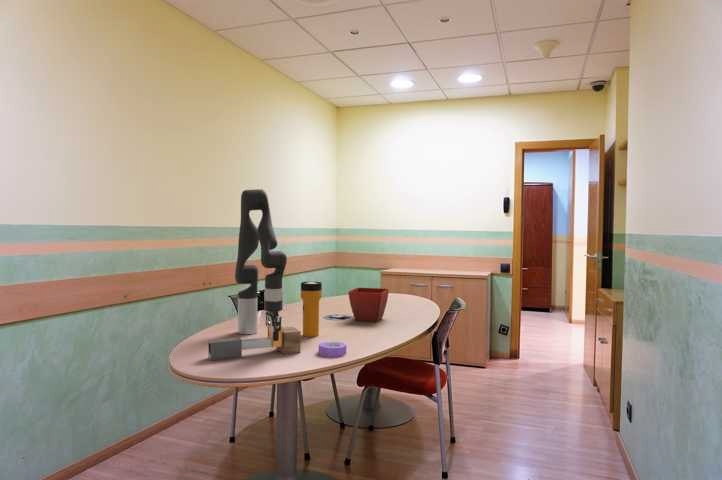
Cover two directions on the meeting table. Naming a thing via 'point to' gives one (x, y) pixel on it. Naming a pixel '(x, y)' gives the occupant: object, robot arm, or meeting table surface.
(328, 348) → the masking tape
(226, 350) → the sleeve
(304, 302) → the flashlight
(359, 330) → the meeting table surface
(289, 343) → the socket block
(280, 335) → the slip tube
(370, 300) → the plant pot
